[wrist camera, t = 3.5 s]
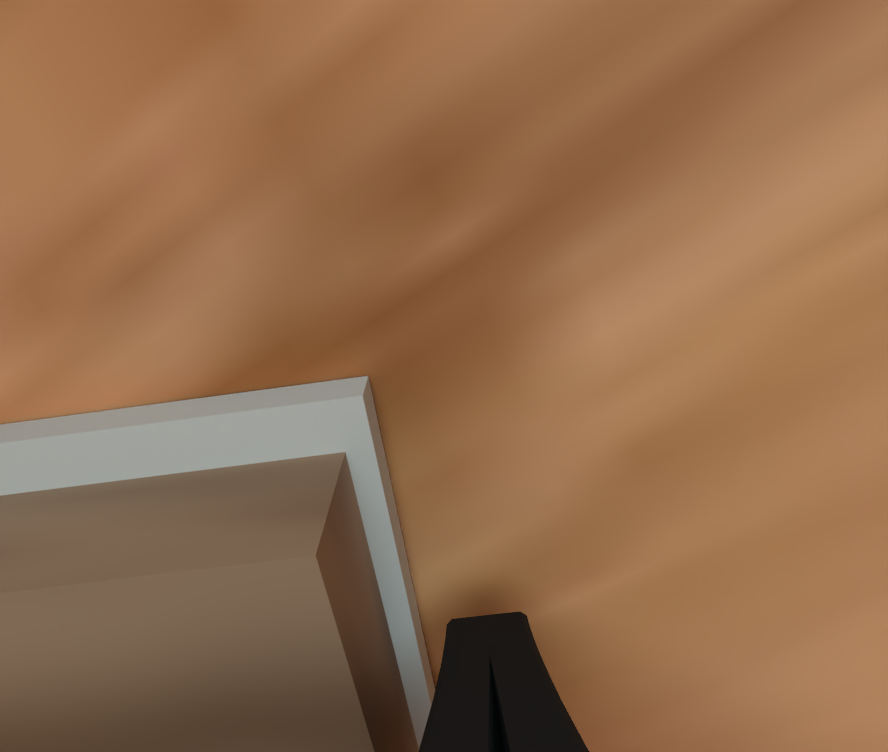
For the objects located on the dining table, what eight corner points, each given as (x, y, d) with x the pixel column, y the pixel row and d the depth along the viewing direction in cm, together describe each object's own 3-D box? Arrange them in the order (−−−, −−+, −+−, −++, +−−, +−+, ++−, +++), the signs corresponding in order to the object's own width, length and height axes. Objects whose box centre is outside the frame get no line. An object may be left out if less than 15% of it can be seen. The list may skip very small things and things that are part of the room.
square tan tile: (418, 747, 12) (414, 885, 10) (83, 782, 13) (7, 922, 11) (345, 451, 9) (316, 555, 7) (-100, 507, 10) (-268, 624, 7)
